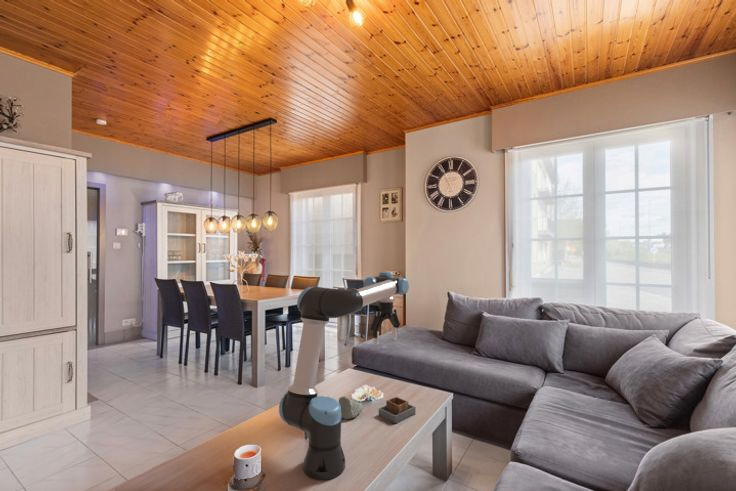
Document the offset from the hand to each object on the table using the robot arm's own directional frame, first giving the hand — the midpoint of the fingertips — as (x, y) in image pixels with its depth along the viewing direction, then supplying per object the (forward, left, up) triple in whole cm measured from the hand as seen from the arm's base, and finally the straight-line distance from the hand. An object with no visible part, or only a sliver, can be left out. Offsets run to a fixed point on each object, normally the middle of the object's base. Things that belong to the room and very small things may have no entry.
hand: (385, 341), depth 180 cm
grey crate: (-5, -13, -32) cm, 35 cm away
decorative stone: (-22, +2, -32) cm, 39 cm away
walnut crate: (-5, -13, -31) cm, 34 cm away
